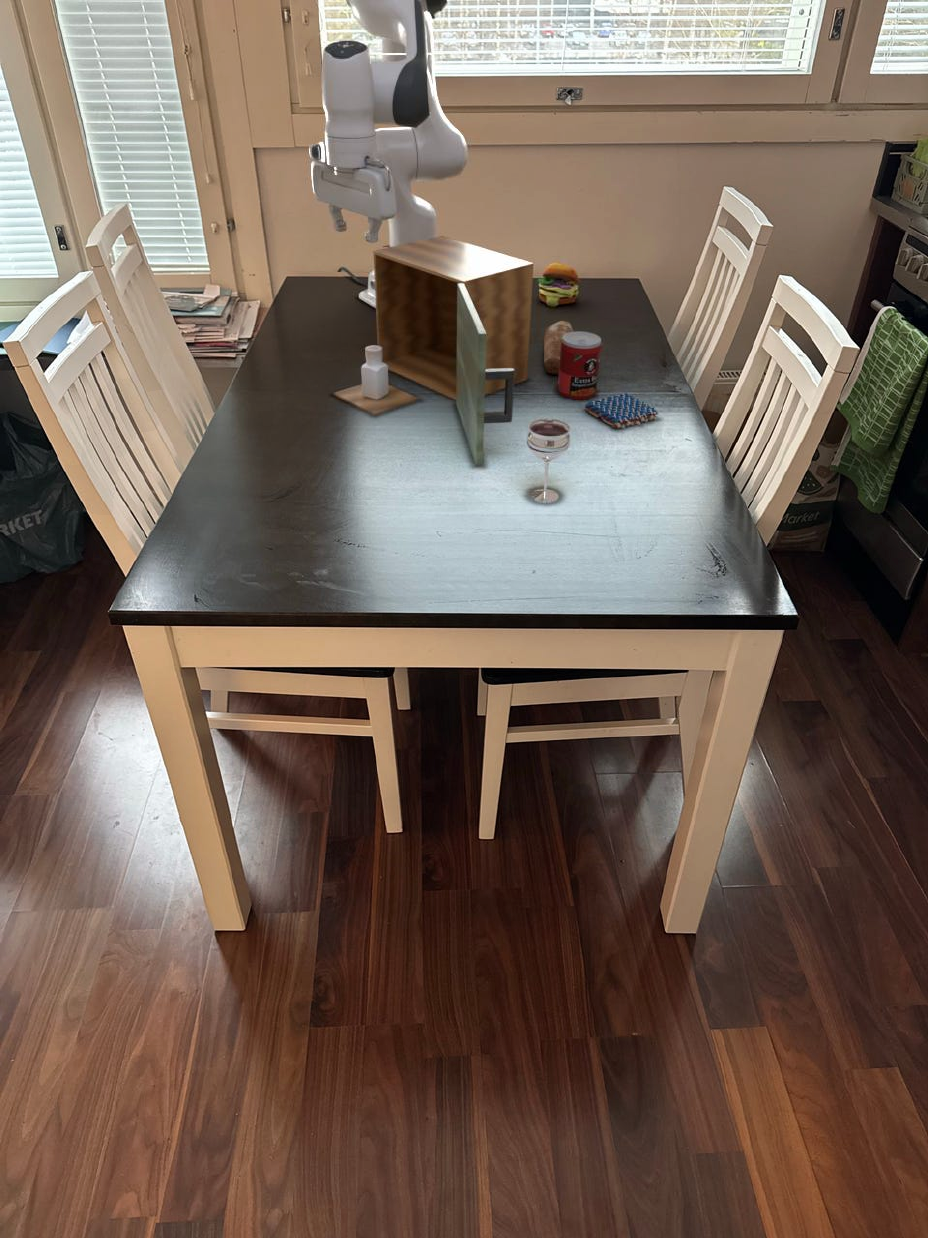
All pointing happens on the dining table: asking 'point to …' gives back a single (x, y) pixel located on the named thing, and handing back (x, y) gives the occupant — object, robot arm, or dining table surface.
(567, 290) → the cheeseburger
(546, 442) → the wineglass
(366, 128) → the robot arm
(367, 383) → the pepper shaker
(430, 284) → the cupboard
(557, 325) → the bread
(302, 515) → the dining table surface
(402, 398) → the coaster
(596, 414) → the woven mat
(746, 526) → the dining table surface
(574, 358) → the canned food
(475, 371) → the cupboard door
